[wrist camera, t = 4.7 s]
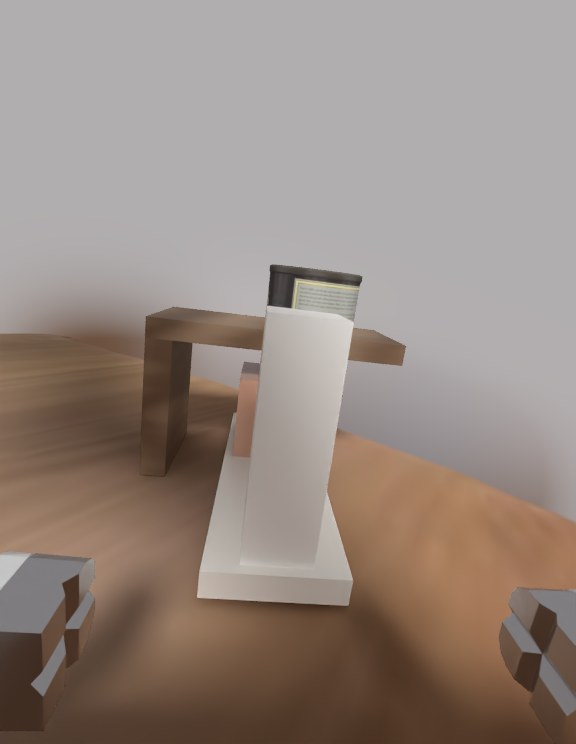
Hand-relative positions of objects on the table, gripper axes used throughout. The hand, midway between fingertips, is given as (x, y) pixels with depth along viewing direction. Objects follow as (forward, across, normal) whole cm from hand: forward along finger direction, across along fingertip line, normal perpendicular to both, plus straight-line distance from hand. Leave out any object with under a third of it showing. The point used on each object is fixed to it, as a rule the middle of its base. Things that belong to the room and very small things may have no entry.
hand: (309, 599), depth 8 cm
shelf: (+20, 0, +7) cm, 21 cm away
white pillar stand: (+16, 0, +7) cm, 17 cm away
